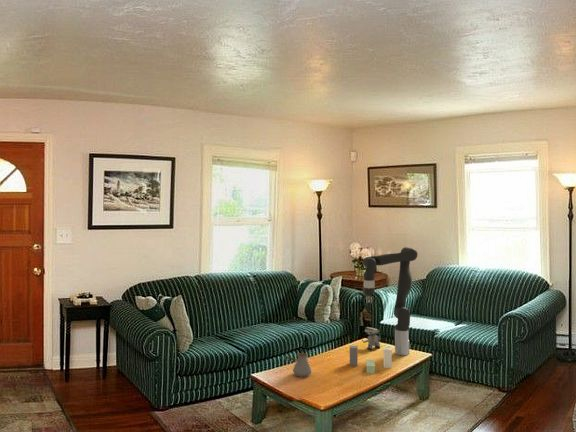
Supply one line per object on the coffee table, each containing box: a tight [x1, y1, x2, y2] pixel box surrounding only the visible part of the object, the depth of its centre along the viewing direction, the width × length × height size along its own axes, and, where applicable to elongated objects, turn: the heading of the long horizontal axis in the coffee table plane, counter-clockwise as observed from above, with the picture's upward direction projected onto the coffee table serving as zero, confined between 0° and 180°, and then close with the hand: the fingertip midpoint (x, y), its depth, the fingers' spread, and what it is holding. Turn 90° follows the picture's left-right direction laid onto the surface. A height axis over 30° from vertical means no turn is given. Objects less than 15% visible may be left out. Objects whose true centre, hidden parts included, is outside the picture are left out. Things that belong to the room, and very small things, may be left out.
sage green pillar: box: [365, 359, 376, 374], centre depth 323 cm, size 5×5×12 cm
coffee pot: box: [285, 352, 312, 378], centre depth 309 cm, size 21×12×15 cm, turn 139°
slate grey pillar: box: [349, 345, 359, 367], centre depth 333 cm, size 5×5×12 cm
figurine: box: [361, 326, 381, 351], centre depth 369 cm, size 9×12×15 cm
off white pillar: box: [382, 346, 393, 369], centre depth 329 cm, size 5×5×12 cm
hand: (368, 311), depth 346 cm, fingers closed
